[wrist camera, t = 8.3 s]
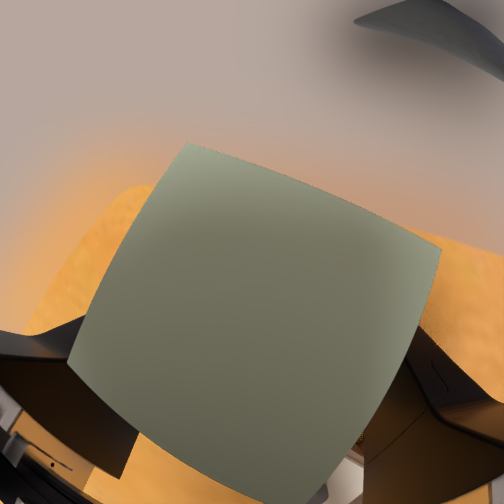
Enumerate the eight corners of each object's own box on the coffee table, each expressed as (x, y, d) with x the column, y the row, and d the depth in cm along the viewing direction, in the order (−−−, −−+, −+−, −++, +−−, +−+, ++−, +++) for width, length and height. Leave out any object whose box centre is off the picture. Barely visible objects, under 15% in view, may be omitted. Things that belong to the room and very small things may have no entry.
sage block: (296, 379, 14) (295, 514, 2) (228, 343, 15) (66, 363, 4) (333, 310, 15) (442, 249, 3) (264, 277, 16) (186, 142, 4)
